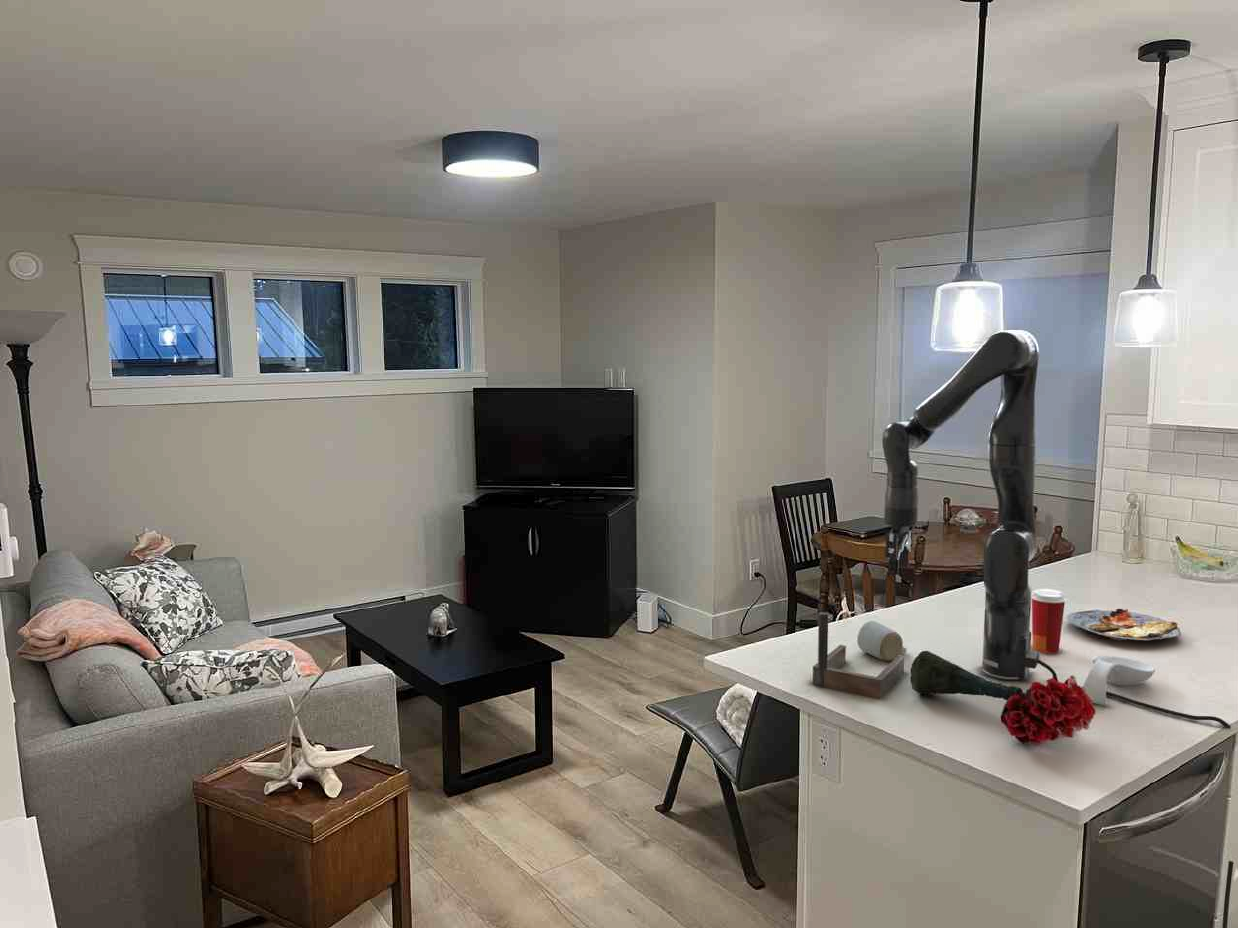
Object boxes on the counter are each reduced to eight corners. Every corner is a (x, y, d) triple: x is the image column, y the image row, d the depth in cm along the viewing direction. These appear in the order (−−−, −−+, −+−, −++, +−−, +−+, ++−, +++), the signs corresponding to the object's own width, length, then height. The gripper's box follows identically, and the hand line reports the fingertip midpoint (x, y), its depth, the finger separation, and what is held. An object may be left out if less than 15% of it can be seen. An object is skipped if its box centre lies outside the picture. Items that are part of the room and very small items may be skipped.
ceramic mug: (881, 665, 205) (882, 632, 204) (856, 654, 213) (857, 622, 212) (914, 657, 210) (916, 625, 209) (889, 647, 218) (890, 616, 216)
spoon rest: (1102, 666, 203) (1104, 635, 202) (1160, 680, 195) (1163, 648, 194) (1063, 696, 186) (1065, 663, 185) (1125, 713, 178) (1128, 678, 177)
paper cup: (1063, 646, 216) (1066, 590, 214) (1063, 657, 209) (1067, 598, 207) (1027, 642, 219) (1030, 586, 217) (1026, 652, 212) (1029, 595, 210)
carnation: (918, 729, 190) (1093, 780, 163) (879, 691, 179) (1058, 739, 153) (943, 662, 195) (1116, 701, 168) (906, 621, 185) (1084, 656, 158)
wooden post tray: (903, 673, 200) (906, 604, 198) (879, 699, 186) (881, 624, 184) (839, 661, 208) (841, 594, 206) (812, 684, 195) (813, 613, 192)
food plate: (1122, 613, 241) (1123, 600, 240) (1202, 640, 219) (1203, 626, 218) (1047, 623, 233) (1047, 610, 233) (1122, 652, 211) (1123, 638, 211)
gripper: (908, 511, 207) (905, 579, 209) (925, 501, 219) (922, 566, 221) (876, 507, 211) (873, 575, 213) (894, 498, 223) (892, 562, 225)
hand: (898, 570), depth 217 cm, fingers open, 8 cm apart
